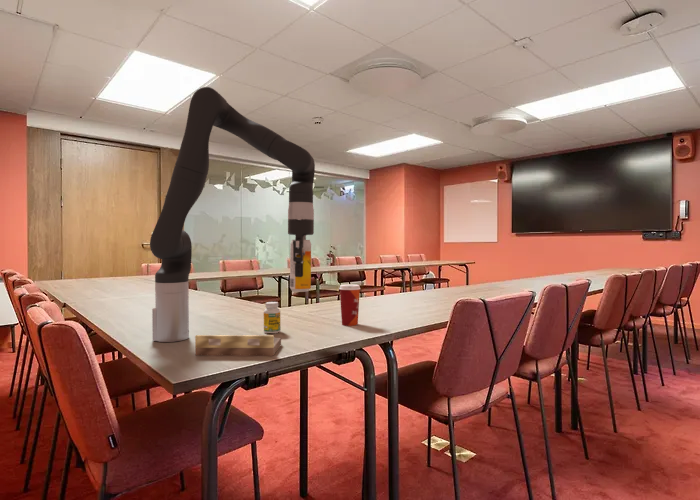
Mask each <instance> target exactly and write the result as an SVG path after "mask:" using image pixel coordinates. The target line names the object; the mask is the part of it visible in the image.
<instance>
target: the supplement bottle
mask: <svg viewBox="0 0 700 500" xmlns="http://www.w3.org/2000/svg"><path fill="white" fill-rule="evenodd" d="M278 307H279V302H278V301H268V302H265V309H264V310H263V332H265V333H264V334H267V333H275V334H279V333H280V332H281V309H280V308H278ZM278 332H279V333H278Z"/></svg>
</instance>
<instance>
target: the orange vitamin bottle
mask: <svg viewBox="0 0 700 500" xmlns="http://www.w3.org/2000/svg"><path fill="white" fill-rule="evenodd" d="M293 240H294V239H291V241H290V243H289V244H290V245H289V247H290V249H289V251H290V253H289V257H290V258H289V259H290V261H289V262H290V263H289V288H290V290H291V291H292V292H294V293H295V292H296V293H304V292H310V290H311V288H312V242H311V239H306V240H304V241H303V248H302V252H303V251H304V248H305V256H304V260H303V261H304V262H303V276H302V277H296V276H295V264H296V263H294V261H293ZM298 249H299V248H298ZM297 257H300V256H297Z"/></svg>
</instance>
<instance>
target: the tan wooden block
mask: <svg viewBox="0 0 700 500" xmlns="http://www.w3.org/2000/svg"><path fill="white" fill-rule="evenodd" d="M274 335H275V334H272V335H271V334H268V335H267V334H266V335H265V334H263V335H261V334H259V335H258V334H257V335H253V334H252V335H251V334H248V335H247V334H245V335H243V334H237V335H235V334H233V335H232V334H228V335H227V334H225V335H224V334H221V335H220V334H197V335H195V336H194V339H195V342H194V343H195V350H194V351H195V354H194V355H195V356H221V357H222V356H229V357H230V356H233V357H234V356H238V357H239V356H244V357H245V356H247V357H248V356H249V357H250V356H259V357H260V356H264V357H265V356H267V357H268V356H270V357H272V356H274V355H275V354H276V353H277V352H278V350H279V349H278V348H280V347H281V346H280V345H282V337H275V336H274ZM275 352H276V353H275Z"/></svg>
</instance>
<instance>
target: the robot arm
mask: <svg viewBox="0 0 700 500" xmlns="http://www.w3.org/2000/svg"><path fill="white" fill-rule="evenodd" d="M213 127H216V128H218V129H221V130H224V131H227V132H228V133H230V134H232V135H234V136H236V137H238V138H240V139H241V140H243V141H244V142H246V143H247V144H248V145H250V146H251V147H252V148H254V149H256V150H257V151H259V152H261V153H262V154H263V155H265V156H268V158H271V159H273V160H274V161H277V162H279V163H280V164H282V165H283V166H286V167H287V168H288V169H289V170H291V184H290V185H289V189H288V192H289V193H288V209H287V234H288V235H289V236H290V235H291V236H295V239H292V240H293V261H294V263H296V264H295V276H296V277H302V276H303V262H304V261H303V260H304V256H305V248H304V251H303V252H302V248H303V241H304V240H307V236H312V235H314V232H315V231H314V230H315V229H314V227H315V226H314V225H315V220H314V219H315V211H314V210H315V209H314V189H313V187H314V181H315V170H316V168H315V167H316V164H315V160H314V156H312V154H310V152H309V151H308V150H307V149H305V148H303V147H302V146H300V145H298V144H296V143H294V142H292V141H289V140H287V139H286V138H285V137H284V136H282V135H280V134H278V132H275V131H273V130H272V129H270V128H269V127H267V126H264V125H263V124H260V123H258V122H256V121H253V120H251V119H249V118H248V117H246V116H244V115H242V114H241V113H240V112H239V111H238V110H237V109H235V108H234V107H233V106H232V105H230V103H229V102H227V100H226V99H225V98H224V97H223V96H222V95H221V93H220V92H218V91H217V90H216V89H214V88H212V87H210V86H202V87H200V88H198V89H197V90H195V92H193V95H192V97H191V99H190V103H189V106H188V114H187V120H186V125H185V129H184V134H183V138H182V140H181V144H180V146H179V147H180V148H179V151H178V154H177V157H176V161H175V165H174V167H173V170H172V174H171V178H170V182H169V186H168V189H167V191H166V194H165V199H164V203H163V206H162V209H161V212H160V214H159V215H158V219H157V221H156V223H155V227H154V228H153V231H152V233H151V235H150V240H149V241H150V242H149V247H150V248H149V249H150V251H151V254H152V255H153V256H155V257H156V258H157V259H159V260H161V265H160V267H159V269H158V270H157V271H156V272H155V274H154V282H155V283H154V284H155V285H154V292H155V293H154V295H155V297H154V298H155V299H154V300H155V304H154V305H155V306H154V307H152V309H151V310H152V311H151V312H152V314H151V315H152V316H151V317H152V320H151V321H152V326H151V327H152V341H153V342H154V341H155V342H160V343H172V342H180V341H185V340H188V339H190V318H189V317H190V306H189V305H190V303H189V300H190V299H189V298H190V297H189V295H190V294H189V287H190V285H189V279H190V278H189V277H190V273H191V271H192V255H193V254H192V250H193V248H192V247H193V246H192V245H193V244H192V240H191V239H192V238H191V237H190V234H188V233H187V232H186V231H185V230H184V226H185V222H186V219H187V216H188V215H189V212H190V211H191V209H192V208H193V206H194V205H195V203H196V202H197V200H199V198H200V196H201V195H202V192H203V190H204V187H205V183H206V180H207V177H208V173H209V170H210V169H209V168H210V154H209V153H210V150H209V149H210V147H209V144H210V143H209V141H210V138H211V133H212V130H213ZM298 248H299V249H298ZM297 256H300V257H297Z"/></svg>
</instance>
